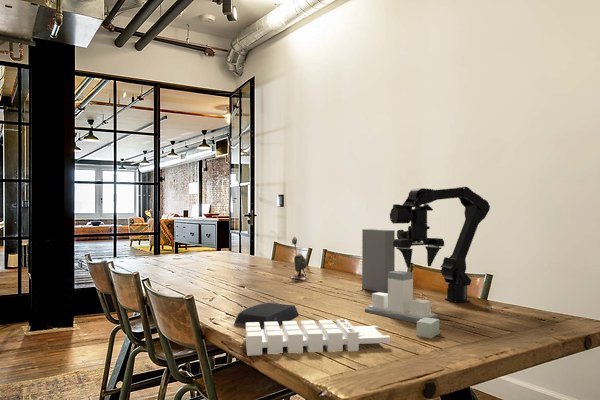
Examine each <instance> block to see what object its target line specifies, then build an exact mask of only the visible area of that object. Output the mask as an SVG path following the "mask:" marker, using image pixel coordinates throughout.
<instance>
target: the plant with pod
mask: <svg viewBox="0 0 600 400" xmlns="http://www.w3.org/2000/svg"><path fill="white" fill-rule="evenodd" d="M297 242H298V238H297V237H296V236H293V238H292V239H291V245H292V246H293V245H294V248H295V250H294V251H297ZM307 265H308V263H307V259H306V258H305V256H304V255H303V254H302V253H298V254H297V252H295V255H294V270H295V273H293V275H291V276H289V278H291V279H293V280H294V279H295V280H304V279H305V280H308V279H309V277H307V274H306V271H305V269H307Z"/></svg>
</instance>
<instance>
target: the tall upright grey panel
mask: <svg viewBox="0 0 600 400" xmlns="http://www.w3.org/2000/svg"><path fill="white" fill-rule="evenodd" d="M361 233H362V234H361V239H362V241H361V242H362V243H361V246H362V248H361V249H362V251H361V254H362V256H361V259H362V261H361V262H362V264H361V266H362V267H361V269H362V270H361V274H362V277H361V278H362V279H361V283H362V284H361V289H362V290H368V291H372V292H376V293H378V292H381V293H387V294H388V272H392V271H396V270H395V268H396V267H395V265H396V264H395V261H396V260H395V257H396V255H395V250H396V247H393V242H394V240H395V239H396V237H395V235H396V233H395V230H393V229H378V228H377V229H375V228H363V229H362V231H361Z"/></svg>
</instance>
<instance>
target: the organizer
mask: <svg viewBox="0 0 600 400" xmlns="http://www.w3.org/2000/svg"><path fill="white" fill-rule="evenodd" d="M317 322H318V324H316V322H315V320H313V319H312V320H309V319H308V320H300V327H299V325H298V323H297V321H296V320H290V321H282V324H281V326H282V327H280V325H279V324H278V322H264V329H261V328H260V324H259V322H247V323H246V326H245V347H246V354H247V355H246V356H249V357H250V356H262V355H263V348H264V349H266V348H267V349H266V353H267V355H268V354H273V355H277V354H276V353H284V352H283V351H284V350H283V348H286V347H287V348H286V351H288V352H287V354H288V353H294V352H295V353H297V352H298V353H297V354H303V353H304V348H305V349H306V351H307V353H308V352H321V353H324V347H325V350H326V351H327V352H328V353H334V352H333V351H344V350H343V349H346V351H347V350H348V351H347V352H359V349H360V348H359V346H360V345H361V344H366V345H367V344H389V343H391V337H390V335H383V333H381V332H380V331H379V326H377V325H359V326H358V325H357V326H356V325H355V326H353V325H352V324H351V323H350V322H349V321H348V320H347V319H346V318H345V319H341V318H340V319H335V322H334V321H333V320H332V319H320V320H318V321H317ZM343 345H344V346H343ZM343 347H344V348H343Z"/></svg>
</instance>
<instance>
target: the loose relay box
mask: <svg viewBox="0 0 600 400" xmlns="http://www.w3.org/2000/svg"><path fill="white" fill-rule="evenodd" d="M439 334H440V319H439V318H437V319H434V318H427V317H425V318H423V319H421V320H419V321H417V323H416V337H421V338H427V339H433V338H435V337H436V336H438V335H439Z"/></svg>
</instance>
